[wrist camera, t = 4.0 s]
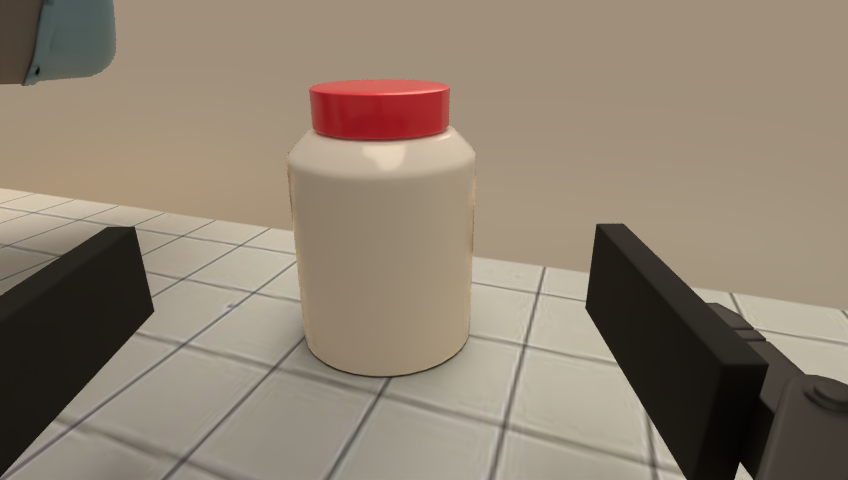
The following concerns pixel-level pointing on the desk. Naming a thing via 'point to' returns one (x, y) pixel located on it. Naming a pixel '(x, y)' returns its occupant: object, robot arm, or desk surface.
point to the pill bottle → (383, 226)
